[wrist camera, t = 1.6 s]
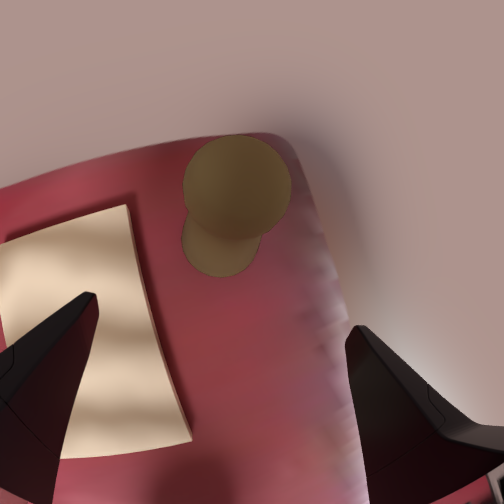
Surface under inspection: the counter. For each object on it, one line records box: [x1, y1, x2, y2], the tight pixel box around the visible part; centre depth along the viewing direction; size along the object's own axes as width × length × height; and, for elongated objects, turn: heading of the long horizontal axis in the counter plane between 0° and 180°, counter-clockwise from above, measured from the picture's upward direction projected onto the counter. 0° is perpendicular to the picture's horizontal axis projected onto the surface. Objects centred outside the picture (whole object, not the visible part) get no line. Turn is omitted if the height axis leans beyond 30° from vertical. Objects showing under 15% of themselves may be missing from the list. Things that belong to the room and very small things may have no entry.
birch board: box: [0, 204, 192, 459], centre depth 18 cm, size 18×13×2 cm
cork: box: [181, 135, 291, 278], centre depth 18 cm, size 6×6×11 cm
